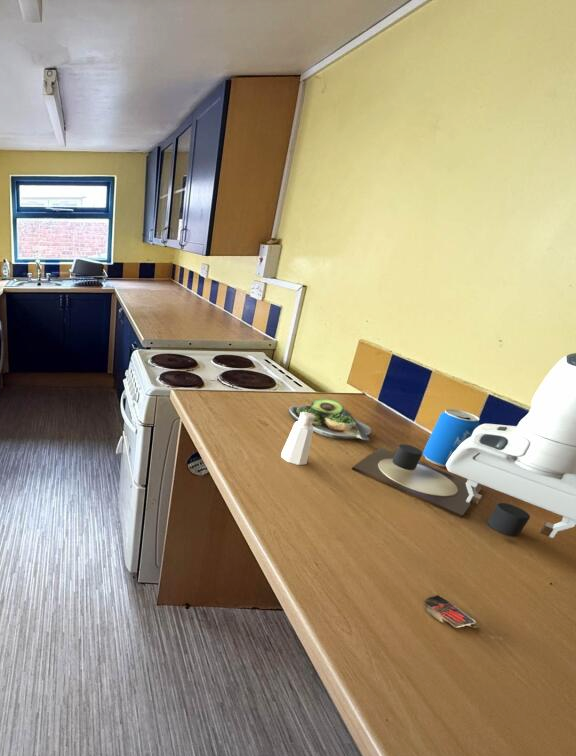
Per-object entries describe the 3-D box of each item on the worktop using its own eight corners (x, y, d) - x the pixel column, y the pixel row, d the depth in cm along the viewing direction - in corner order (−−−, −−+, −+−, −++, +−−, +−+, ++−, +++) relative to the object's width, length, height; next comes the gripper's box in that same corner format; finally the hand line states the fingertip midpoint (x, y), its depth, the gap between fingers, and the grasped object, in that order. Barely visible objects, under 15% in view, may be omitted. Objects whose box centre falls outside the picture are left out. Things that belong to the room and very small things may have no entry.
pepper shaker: (275, 456, 90) (289, 412, 85) (287, 449, 93) (300, 406, 89) (300, 468, 86) (315, 422, 82) (311, 460, 89) (327, 416, 85)
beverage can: (430, 466, 90) (452, 418, 85) (415, 451, 95) (436, 406, 91) (464, 472, 88) (490, 423, 83) (448, 457, 94) (470, 411, 89)
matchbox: (433, 593, 57) (434, 591, 57) (480, 624, 53) (482, 621, 53) (417, 606, 55) (418, 603, 55) (465, 639, 51) (467, 636, 51)
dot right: (520, 530, 71) (532, 512, 69) (516, 539, 69) (528, 521, 67) (489, 517, 74) (500, 499, 72) (485, 525, 72) (495, 507, 70)
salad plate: (394, 445, 98) (402, 429, 96) (329, 447, 95) (335, 430, 93) (335, 410, 115) (340, 395, 113) (278, 410, 113) (282, 395, 111)
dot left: (417, 466, 88) (425, 450, 86) (411, 472, 85) (419, 456, 84) (395, 457, 91) (402, 442, 89) (389, 463, 88) (396, 447, 87)
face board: (481, 489, 82) (483, 486, 82) (461, 518, 73) (463, 514, 73) (379, 449, 95) (380, 446, 95) (351, 469, 87) (352, 466, 86)
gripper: (654, 477, 59) (601, 548, 65) (470, 420, 74) (439, 482, 80) (655, 490, 56) (598, 565, 61) (462, 428, 71) (430, 492, 76)
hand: (507, 517), depth 70 cm, fingers open, 8 cm apart
